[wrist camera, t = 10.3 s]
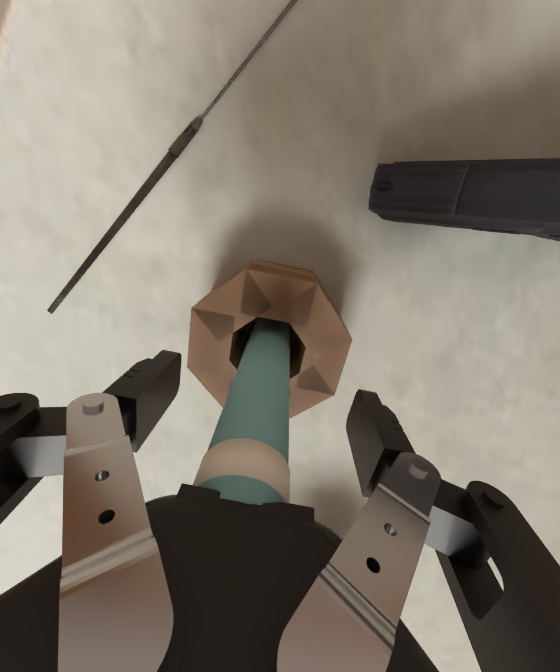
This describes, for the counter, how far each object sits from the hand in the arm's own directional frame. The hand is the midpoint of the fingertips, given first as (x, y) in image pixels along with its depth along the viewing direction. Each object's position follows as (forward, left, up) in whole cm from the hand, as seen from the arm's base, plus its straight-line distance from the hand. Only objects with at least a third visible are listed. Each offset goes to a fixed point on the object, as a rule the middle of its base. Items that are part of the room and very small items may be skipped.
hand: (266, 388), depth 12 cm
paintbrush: (+9, -8, -8) cm, 14 cm away
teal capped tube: (0, 0, -8) cm, 8 cm away
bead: (0, 0, -8) cm, 8 cm away
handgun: (-11, -10, -8) cm, 17 cm away
